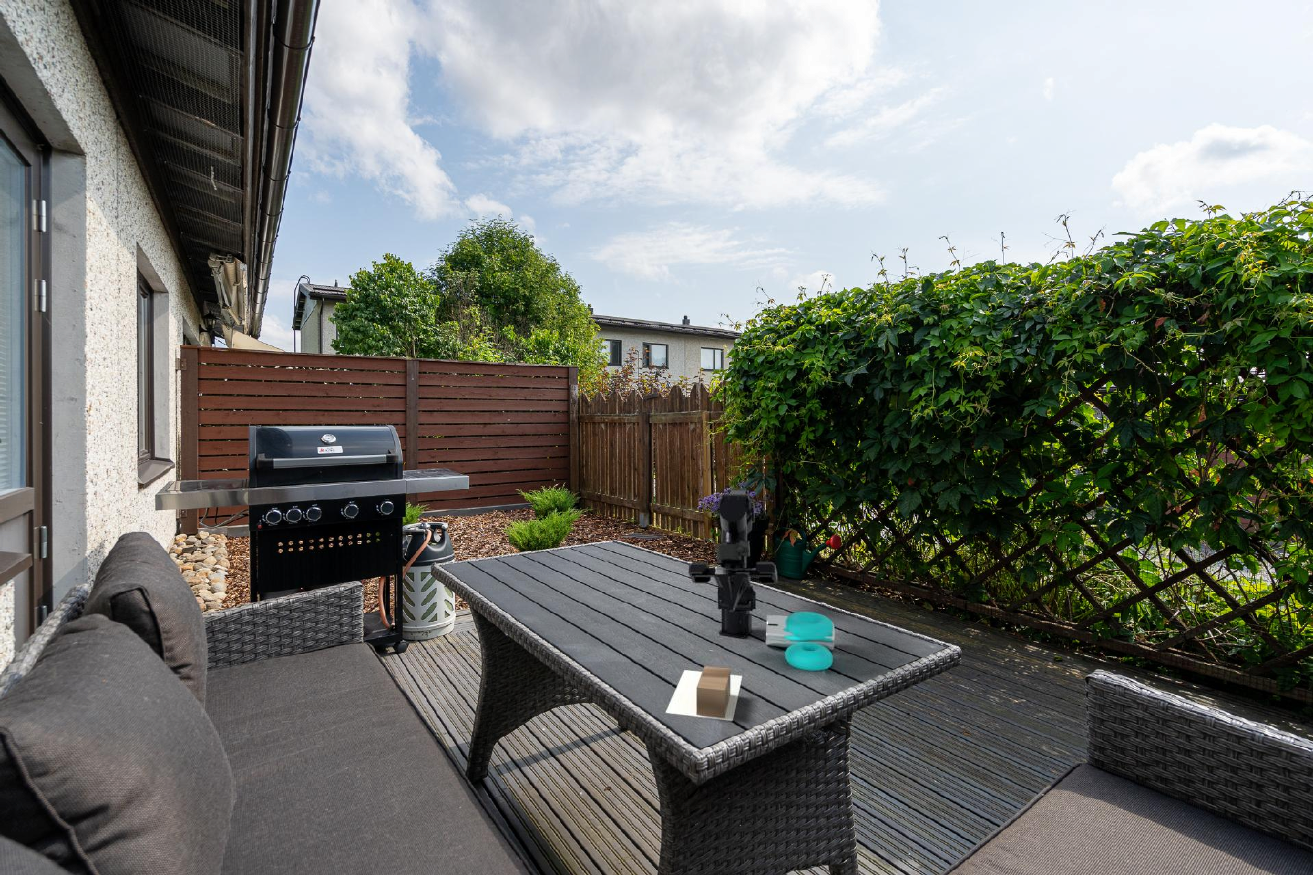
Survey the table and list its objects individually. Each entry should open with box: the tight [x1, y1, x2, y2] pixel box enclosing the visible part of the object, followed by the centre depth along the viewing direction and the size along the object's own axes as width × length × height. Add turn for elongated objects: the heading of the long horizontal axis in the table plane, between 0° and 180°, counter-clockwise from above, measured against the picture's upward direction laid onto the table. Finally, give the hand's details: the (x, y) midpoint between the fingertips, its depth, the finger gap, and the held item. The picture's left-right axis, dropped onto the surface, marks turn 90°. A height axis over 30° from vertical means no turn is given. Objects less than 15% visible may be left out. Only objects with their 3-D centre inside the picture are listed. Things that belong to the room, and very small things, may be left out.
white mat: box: [665, 669, 743, 722], centre depth 116 cm, size 18×12×1 cm, turn 166°
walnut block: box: [696, 665, 732, 718], centre depth 111 cm, size 5×5×9 cm
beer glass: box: [765, 614, 836, 651], centre depth 139 cm, size 7×7×15 cm
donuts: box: [784, 611, 834, 672], centre depth 130 cm, size 10×10×10 cm
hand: (731, 610), depth 127 cm, fingers closed
